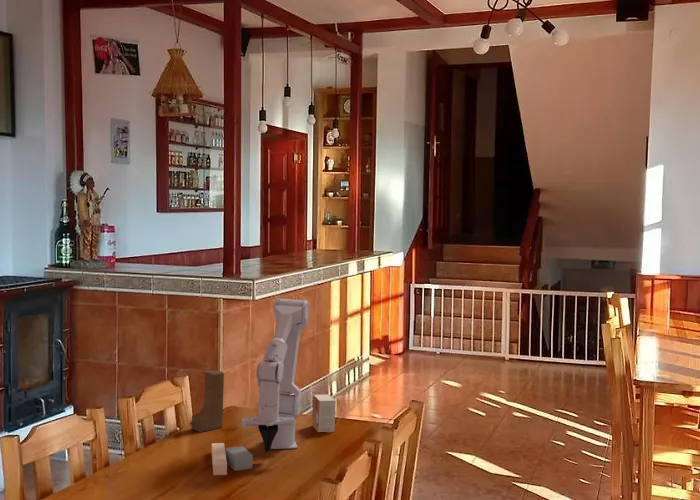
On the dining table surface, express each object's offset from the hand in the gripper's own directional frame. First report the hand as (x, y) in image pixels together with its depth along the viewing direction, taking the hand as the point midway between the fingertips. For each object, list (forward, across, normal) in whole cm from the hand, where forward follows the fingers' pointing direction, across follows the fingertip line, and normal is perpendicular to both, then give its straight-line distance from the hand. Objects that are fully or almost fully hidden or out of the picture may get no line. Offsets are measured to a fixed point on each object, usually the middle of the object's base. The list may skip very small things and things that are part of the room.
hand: (267, 451), depth 214 cm
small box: (+4, +21, +29) cm, 36 cm away
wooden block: (+3, -16, +32) cm, 36 cm away
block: (+3, -8, -2) cm, 9 cm away
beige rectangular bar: (+3, -13, 0) cm, 14 cm away
